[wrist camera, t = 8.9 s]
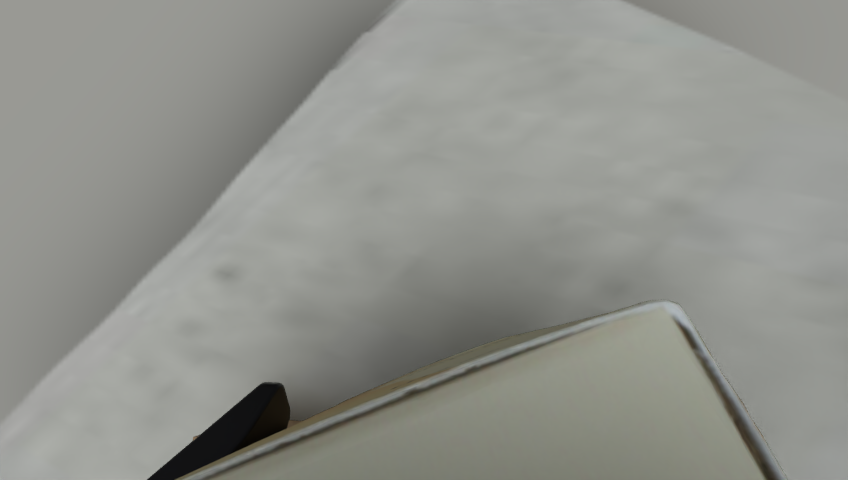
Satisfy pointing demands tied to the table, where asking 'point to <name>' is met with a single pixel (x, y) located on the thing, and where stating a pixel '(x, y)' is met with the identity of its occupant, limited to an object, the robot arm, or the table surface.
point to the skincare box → (534, 414)
